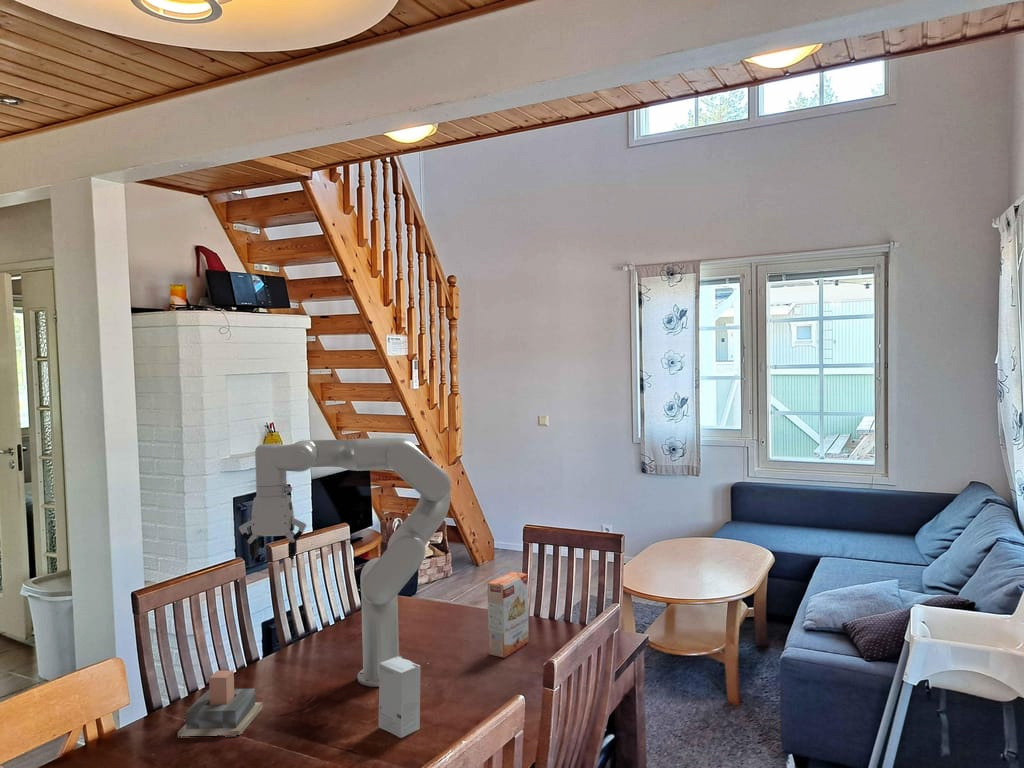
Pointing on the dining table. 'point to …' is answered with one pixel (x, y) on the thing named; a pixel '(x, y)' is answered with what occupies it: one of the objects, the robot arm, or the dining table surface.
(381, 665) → the skincare box
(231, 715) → the socket block
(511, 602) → the cracker box
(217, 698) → the peg
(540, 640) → the dining table surface
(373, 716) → the dining table surface
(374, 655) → the robot arm
